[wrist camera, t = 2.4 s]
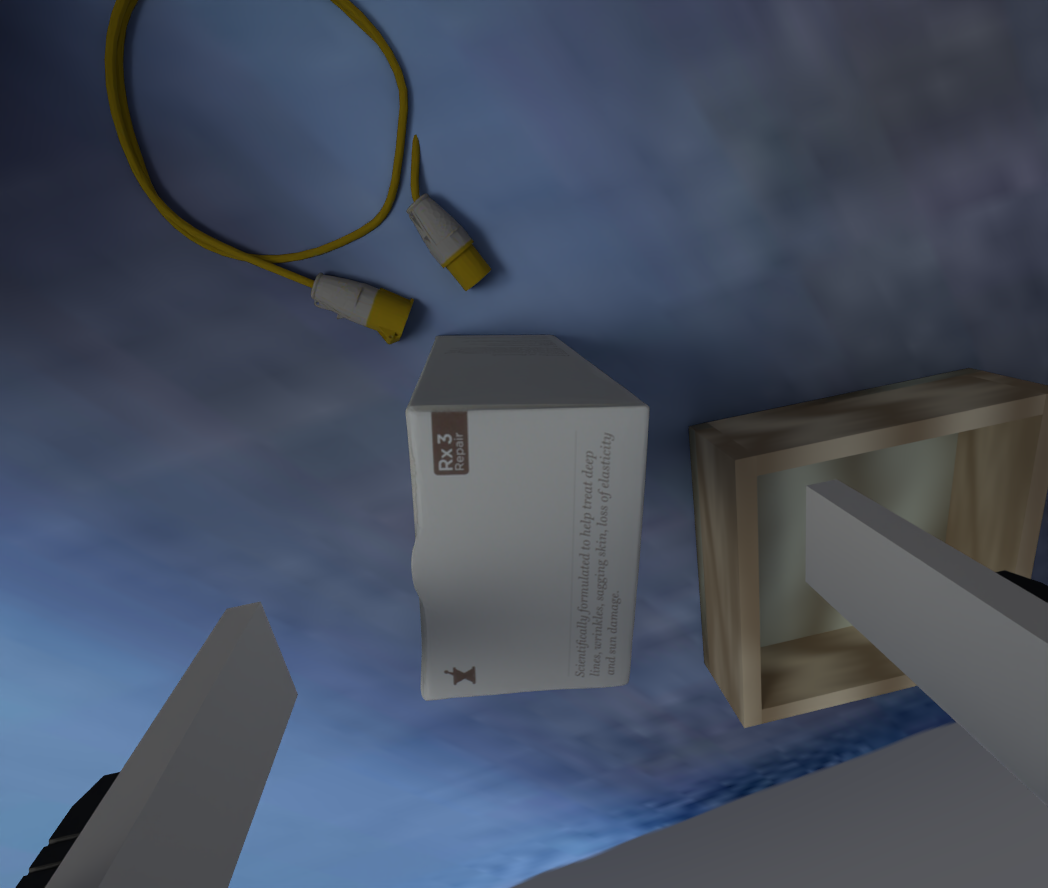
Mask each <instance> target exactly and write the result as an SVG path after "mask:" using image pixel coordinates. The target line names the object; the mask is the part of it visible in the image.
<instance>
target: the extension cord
mask: <svg viewBox="0 0 1048 888" xmlns="http://www.w3.org/2000/svg"><path fill="white" fill-rule="evenodd" d="M331 1H332V2H333V3H334V4H335V5H337V6H338V7H339V8H340V9H341V10H342V11H343V12H344V13H345V14H346V15H347V16H348V17H350V18H351V19H352V20H353V21H354V22H355V23H356V24H357V25H358V26H359V27H360V28H361V29H362V30H363V31H364V32H365V33H366V34H367V35H368V36H369V37H370V38H372V39H373V40H374V41H375V42H376V43H377V45H378V46H379V48H380V49H381V50H382V52H383V53H384V55H385V56H386V58H387V60H388V62H389V64H390V66H391V68H392V70H393V72H394V75H395V78H396V82H397V85H398V89H399V102H400V109H399V120H398V130H397V141H396V150H395V157H394V165H393V172H392V179H391V184H390V187H389V191H388V195H387V198H386V201H385V203H384V205H383V207H382V209H381V210H380V212H379V213H378V214H377V215H376V216H375V218H374V219H373V220H371V221H370V222H368V223H367V224H365V225H364V226H362V227H361V228H359V229H358V230H356V231H354V232H352V233H350V234H348V235H346V236H344V237H342V238H340V239H337V240H335V241H332V242H330V243H328V244H325V245H323V246H320V247H317V248H314V249H310V250H306V251H302V252H298V253H291V254H283V255H255V254H248V253H245V252H243V251H240V250H238V249H236V248H234V247H232V246H230V245H227V244H225V243H223V242H221V241H219V240H217V239H215V238H213V237H211V236H209V235H207V234H205V233H203V232H201V231H200V230H198V229H196V228H195V227H193V226H192V225H190V224H189V223H187V222H186V221H184V220H183V219H181V218H180V217H179V216H178V215H177V214H176V213H175V212H173V211H172V210H171V209H170V208H169V207H168V206H167V205H166V204H165V203H164V201H163V200H162V199H161V198H160V197H159V196H158V195H157V193H156V191H155V189H154V187H153V185H152V183H151V180H150V178H149V175H148V172H147V169H146V166H145V163H144V160H143V157H142V155H141V151H140V148H139V145H138V142H137V139H136V136H135V133H134V130H133V125H132V121H131V117H130V113H129V109H128V103H127V97H126V91H125V84H124V69H123V56H124V42H125V35H126V29H127V25H128V22H129V19H130V16H131V13H132V11H133V9H134V7H135V6H136V4H137V2H138V0H116V2H115V5H114V7H113V10H112V13H111V17H110V22H109V26H108V30H107V35H106V48H105V77H106V88H107V94H108V100H109V105H110V111H111V115H112V118H113V121H114V125H115V128H116V131H117V135H118V138H119V141H120V144H121V146H122V148H123V151H124V153H125V155H126V158H127V160H128V163H129V165H130V167H131V170H132V172H133V173H134V175H135V177H136V179H137V181H138V182H139V184H140V186H141V187H142V189H143V190H144V192H145V193H146V194H147V196H148V197H149V199H150V200H151V201H152V202H153V203H154V205H155V206H156V208H157V209H158V210H159V212H160V213H161V214H162V215H163V217H164V218H165V219H166V220H167V221H168V222H169V223H170V224H171V225H172V226H173V227H174V228H175V229H177V230H178V231H179V232H181V233H182V234H183V235H184V236H186V237H187V238H188V239H190V240H191V241H193V242H195V243H197V244H198V245H200V246H202V247H204V248H205V249H208V250H210V251H212V252H215V253H217V254H220V255H222V256H225V257H229V258H233V259H237V260H241V261H246V262H249V263H251V264H254V265H256V266H258V267H261V268H263V269H266V270H268V271H271V272H273V273H276V274H278V275H281V276H283V277H286V278H288V279H291V280H293V281H296V282H298V283H301V284H303V285H306V286H308V287H311V288H312V291H311V297H312V299H314V304H315V306H317V307H319V308H323V309H327V310H331V311H334V312H335V313H337V314H338V315H337V319H340V318H346V319H348V320H350V321H353V322H355V323H358V324H360V325H363V326H366V327H368V328H371V329H374V330H376V331H378V333H379V334H380V335H381V336H382V337H383V338H384V340H385V341H386V342H387V343H388V344H392V343H395V342H397V341H399V340H400V338H401V335H402V332H403V329H404V327H405V324H406V321H407V318H408V315H409V313H410V310H411V307H412V304H413V301H414V299H412V298H411V300H408V299H406V298H404V297H402V296H399V295H397V294H395V293H392V292H390V291H387V290H385V289H383V288H380V290H379V289H377V288H375V287H372V286H370V285H368V284H365V283H360V282H357V281H353V280H349V279H345V278H339V277H335V276H330V275H323V274H322V273H319V274H318V275H317V277H316V279H315V281H314V280H311V279H309V278H306V277H304V276H302V275H299V274H297V273H294V272H292V271H289V270H287V269H284V268H282V267H279V266H277V265H274V264H272V263H285V262H291V261H298V260H303V259H307V258H311V257H314V256H318V255H322V254H324V253H327V252H330V251H332V250H335V249H337V248H339V247H342V246H344V245H346V244H348V243H350V242H352V241H354V240H357V239H359V238H361V237H363V236H364V235H366V234H367V233H369V232H371V231H372V230H374V229H375V228H376V227H377V226H378V225H380V224H381V223H382V221H383V220H384V219H385V218H386V217H387V215H388V213H389V212H390V210H391V208H392V205H393V203H394V200H395V197H396V193H397V189H398V186H399V181H400V174H401V167H402V160H403V153H404V144H405V134H406V124H407V115H408V94H407V87H406V84H405V80H404V76H403V73H402V70H401V68H400V66H399V64H398V62H397V60H396V58H395V56H394V54H393V51H392V50H391V48H390V47H389V46H388V44H387V43H386V41H385V40H384V38H383V37H382V35H381V34H380V32H379V31H378V30H377V29H376V28H375V26H374V25H373V24H372V23H371V22H370V21H369V20H368V18H367V17H366V16H365V15H364V14H363V13H362V12H361V11H360V10H359V9H358V8H357V7H356V6H355V5H354V4H353V3H351V2H350V1H349V0H331ZM419 161H420V146H419V140H418V138H417V135H416V134H415V135H414V138H413V143H412V160H411V193H412V198H413V201H414V203H413V204H412V205H411V206H410V207H409V208H408V209H407V211H406V212H407V213H408V214H409V217H410V219H411V220H412V221H413V223H414V225H415V226H416V228H417V230H418V232H419V234H420V235H421V237H422V239H423V241H424V242H425V244H426V245H427V247H428V248H429V250H430V253H431V254H432V255H433V256H434V258H435V259H436V260H437V261H438V262H439V264H440V265H441V266H442V267H443V268H444V267H446V268H447V269H448V270H449V271H450V273H451V274H452V275H453V276H454V277H455V279H456V280H457V281H458V282H459V284H460V285H461V286H462V287H463V289H464V290H465V291H467V290H469V289H470V288H471V287H473V286H474V285H475V284H476V283H478V282H479V281H480V280H481V279H482V278H483V277H484V276H486V275H487V274H488V273H489V272H490V271H491V268H490V267H489V265H488V264H487V263H486V262H485V260H484V259H483V258H482V256H481V255H480V254H479V253H478V251H477V250H476V249H475V247H474V246H473V245H472V243H473V242H474V241H473V240H472V239H471V238H470V236H469V235H468V234H467V232H466V231H465V230H464V228H463V227H462V226H461V225H459V224H458V223H457V221H456V220H454V219H453V217H452V216H451V215H450V214H448V213H447V212H446V211H445V210H444V209H443V208H442V207H441V206H439V205H438V204H437V203H436V202H435V201H434V200H432V199H431V198H430V197H429V195H428V194H424V195H422V196H421V197H420V195H419ZM316 302H319V305H316Z"/></svg>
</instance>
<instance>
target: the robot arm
mask: <svg viewBox="0 0 1048 888" xmlns="http://www.w3.org/2000/svg"><path fill="white" fill-rule="evenodd" d="M805 582H807V583H808V584H809V585H810V586H811V587H812V588H813V589H814V590H815V591H816V592H817V593H818V594H819V595H821V596H822V597H823V598H824V599H825V600H826V601H827V602H828V603H829V604H830V605H831V606H832V607H833V608H835V609H836V610H837V611H838V612H839V613H840V614H841V615H842V616H843V617H844V618H845V619H846V620H847V621H848V622H850V623H851V624H852V625H853V626H854V627H855V628H856V629H857V630H858V631H859V632H860V633H861V634H862V635H864V636H865V637H866V638H867V639H868V640H869V641H870V642H871V643H872V644H873V645H874V646H875V647H876V648H878V649H879V650H880V651H881V652H882V653H883V654H884V655H885V656H886V657H887V658H888V659H889V660H890V661H891V662H893V663H894V664H895V665H896V666H897V667H898V668H899V669H900V670H901V671H902V672H903V673H904V674H905V675H907V676H908V677H909V678H910V679H911V680H912V681H913V682H914V683H915V684H916V685H917V686H918V687H919V688H920V689H922V690H923V691H924V692H925V693H926V694H927V695H928V696H929V697H930V698H931V699H932V700H933V701H934V702H936V703H937V704H938V705H939V706H940V707H941V708H942V709H943V710H944V711H945V712H946V713H947V714H948V715H950V716H951V717H952V718H953V719H954V720H955V721H956V722H957V723H958V724H959V725H960V726H961V727H963V729H965V730H966V731H967V732H968V733H969V734H970V735H971V736H972V737H973V738H974V739H975V740H976V741H978V742H979V743H980V744H981V745H982V746H983V747H984V748H985V749H986V750H987V751H988V752H989V753H990V754H991V755H992V756H994V757H995V758H996V759H997V760H998V761H999V762H1000V763H1001V764H1002V765H1003V766H1004V767H1005V768H1006V769H1008V770H1009V771H1010V772H1011V773H1012V774H1013V775H1014V776H1015V777H1016V778H1017V779H1018V780H1019V781H1021V782H1022V783H1023V784H1024V785H1025V786H1026V787H1027V788H1028V789H1029V790H1030V791H1031V792H1032V793H1033V794H1035V795H1036V796H1037V797H1038V798H1039V799H1040V800H1041V801H1042V802H1043V803H1044V804H1045V805H1046V806H1047V807H1048V586H1047V585H1045V584H1043V583H1041V582H1038V581H1035V580H1032V579H1029V578H1026V577H1023V576H1020V575H1018V574H1015V573H1012V572H1009V571H1006V570H1003V571H999V572H994V571H992V570H990V569H989V568H987V567H985V566H983V565H982V564H980V563H978V562H977V561H975V560H973V559H972V558H970V557H968V556H966V555H965V554H963V553H961V552H960V551H958V550H956V549H954V548H953V547H951V546H949V545H948V544H946V543H944V542H943V541H941V540H939V539H937V538H936V537H934V536H932V535H931V534H929V533H927V532H925V531H924V530H922V529H920V528H919V527H917V526H915V525H914V524H912V523H910V522H908V521H907V520H905V519H903V518H902V517H900V516H898V515H896V514H895V513H893V512H891V511H890V510H888V509H886V508H884V507H883V506H881V505H879V504H878V503H876V502H874V501H873V500H871V499H869V498H867V497H866V496H864V495H862V494H861V493H859V492H857V491H855V490H854V489H852V488H850V487H849V486H847V485H845V484H844V483H842V482H840V481H838V480H837V479H835V480H830V481H826V482H821V483H816V484H812V485H807V486H806V577H805ZM297 695H298V694H297V691H296V689H295V686H294V684H293V681H292V679H291V676H290V674H289V671H288V669H287V666H286V664H285V661H284V659H283V656H282V654H281V651H280V649H279V647H278V644H277V642H276V639H275V637H274V634H273V632H272V629H271V627H270V624H269V622H268V619H267V617H266V614H265V612H264V609H263V607H262V604H261V602H257V603H252V604H247V605H243V606H238V607H233V608H228V609H226V611H225V612H224V614H223V615H222V617H221V618H220V620H219V621H218V623H217V625H216V626H215V628H214V629H213V631H212V632H211V634H210V635H209V637H208V638H207V640H206V641H205V643H204V644H203V646H202V648H201V649H200V651H199V652H198V654H197V655H196V657H195V658H194V660H193V661H192V663H191V664H190V666H189V667H188V669H187V671H186V672H185V674H184V675H183V677H182V678H181V680H180V681H179V683H178V684H177V686H176V687H175V689H174V690H173V692H172V694H171V695H170V697H169V698H168V700H167V701H166V703H165V704H164V706H163V707H162V709H161V710H160V712H159V713H158V715H157V717H156V718H155V720H154V721H153V723H152V724H151V726H150V727H149V729H148V730H147V732H146V733H145V735H144V736H143V738H142V740H141V741H140V743H139V744H138V746H137V747H136V749H135V750H134V752H133V753H132V755H131V756H130V758H129V759H128V761H127V763H126V764H125V766H124V767H123V769H122V770H121V772H118V773H114V774H109V775H105V776H103V777H102V778H101V779H100V780H99V781H98V782H97V783H96V784H95V785H94V786H93V787H92V788H91V789H90V790H89V791H88V792H87V793H86V794H85V795H84V796H83V797H82V798H81V799H79V800H78V801H77V802H76V803H75V804H74V805H73V806H72V808H71V809H70V810H69V812H68V813H67V815H66V816H65V818H64V819H63V820H62V822H61V823H60V825H59V826H58V828H57V829H56V830H55V832H54V833H53V835H52V836H51V838H50V839H49V845H48V846H46V847H44V848H43V849H42V851H41V852H40V853H39V855H38V856H37V858H36V859H35V861H34V862H33V863H32V865H31V866H30V868H29V873H28V875H27V876H23V878H22V879H21V881H20V882H19V883H18V885H17V886H16V888H228V886H229V883H230V880H231V877H232V875H233V872H234V869H235V866H236V864H237V861H238V858H239V855H240V853H241V850H242V847H243V844H244V842H245V839H246V836H247V833H248V830H249V828H250V825H251V822H252V819H253V817H254V814H255V811H256V808H257V806H258V803H259V800H260V797H261V795H262V792H263V789H264V786H265V784H266V781H267V778H268V775H269V773H270V770H271V767H272V764H273V761H274V759H275V756H276V753H277V750H278V748H279V745H280V742H281V739H282V737H283V734H284V731H285V728H286V726H287V723H288V720H289V717H290V715H291V712H292V709H293V706H294V704H295V701H296V698H297Z"/></svg>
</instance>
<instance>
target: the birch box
mask: <svg viewBox="0 0 1048 888" xmlns="http://www.w3.org/2000/svg"><path fill="white" fill-rule="evenodd" d="M689 440H690V455H691V470H692V485H693V500H694V515H695V530H696V545H697V560H698V575H699V590H700V605H701V620H702V635H703V650H704V663H705V665H706V667H707V668H708V670H709V671H710V673H711V675H712V676H713V678H714V680H715V681H716V683H717V684H718V686H719V688H720V689H721V691H722V692H723V694H724V696H725V697H726V699H727V701H728V702H729V704H730V705H731V707H732V709H733V710H734V712H735V713H736V715H737V717H738V718H739V720H740V722H741V723H742V725H743V726H744V728H746V727H750V726H755V725H759V724H763V723H767V722H771V721H775V720H779V719H783V718H787V717H791V716H795V715H799V714H803V713H808V712H812V711H816V710H820V709H824V708H828V707H832V706H836V705H840V704H844V703H848V702H852V701H856V700H861V699H865V698H869V697H873V696H877V695H881V694H885V693H889V692H893V691H897V690H901V689H905V688H909V687H914V686H917V685H916V684H915V683H914V682H913V681H912V680H911V679H910V678H909V677H908V676H907V675H905V674H904V673H903V672H902V671H901V670H900V669H899V668H898V667H897V666H896V665H895V664H894V663H893V662H891V661H890V660H889V659H888V658H887V657H886V656H885V655H884V654H883V653H882V652H881V651H880V650H879V649H878V648H876V647H875V646H874V645H873V644H872V643H871V642H870V641H869V640H868V639H867V638H866V637H865V636H864V635H862V634H861V633H860V632H859V631H858V630H857V629H856V628H855V627H854V626H853V625H852V624H851V623H850V622H848V621H847V620H846V619H845V618H844V617H843V616H842V615H841V614H840V613H839V612H838V611H837V610H836V609H835V608H833V607H832V606H831V605H830V604H829V603H828V602H827V601H826V600H825V599H824V598H823V597H822V596H821V595H819V594H818V593H817V592H816V591H815V590H814V589H813V588H812V587H811V586H810V585H809V584H808V583H807V582H805V577H806V486H807V485H812V484H816V483H821V482H826V481H830V480H835V479H837V480H838V481H840V482H842V483H844V484H845V485H847V486H849V487H850V488H852V489H854V490H855V491H857V492H859V493H861V494H862V495H864V496H866V497H867V498H869V499H871V500H873V501H874V502H876V503H878V504H879V505H881V506H883V507H884V508H886V509H888V510H890V511H891V512H893V513H895V514H896V515H898V516H900V517H902V518H903V519H905V520H907V521H908V522H910V523H912V524H914V525H915V526H917V527H919V528H920V529H922V530H924V531H925V532H927V533H929V534H931V535H932V536H934V537H936V538H937V539H939V540H941V541H943V542H944V543H946V544H948V545H949V546H951V547H953V548H954V549H956V550H958V551H960V552H961V553H963V554H965V555H966V556H968V557H970V558H972V559H973V560H975V561H977V562H978V563H980V564H982V565H983V566H985V567H987V568H989V569H990V570H992V571H994V572H999V571H1003V570H1006V571H1009V572H1012V573H1015V574H1018V575H1020V576H1023V577H1026V578H1029V579H1031V574H1032V569H1033V564H1034V558H1035V553H1036V548H1037V543H1038V537H1039V532H1040V527H1041V521H1042V516H1043V511H1044V505H1045V500H1046V495H1047V489H1048V385H1043V384H1039V383H1034V382H1030V381H1025V380H1021V379H1016V378H1012V377H1007V376H1003V375H998V374H994V373H990V372H985V371H981V370H976V369H972V368H967V369H962V370H957V371H952V372H948V373H943V374H938V375H933V376H928V377H924V378H919V379H914V380H909V381H904V382H899V383H895V384H890V385H885V386H880V387H875V388H871V389H866V390H861V391H856V392H851V393H846V394H842V395H837V396H832V397H827V398H822V399H818V400H813V401H808V402H803V403H798V404H794V405H789V406H784V407H779V408H774V409H769V410H765V411H760V412H755V413H750V414H745V415H741V416H736V417H731V418H726V419H721V420H716V421H712V422H707V423H702V424H697V425H692V426H689Z"/></svg>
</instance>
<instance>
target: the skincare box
mask: <svg viewBox="0 0 1048 888" xmlns="http://www.w3.org/2000/svg"><path fill="white" fill-rule="evenodd" d="M406 421H407V431H408V443H409V455H410V467H411V480H412V492H413V507H414V522H415V537H416V540H415V544H414V547H413V551H412V560H411V561H412V578H413V582H414V587H415V590H416V592H417V594H418V596H419V600H420V614H421V635H422V664H421V693H422V696H423V698H424V700H426V701H429V700H439V699H447V698H455V697H470V696H480V695H494V694H507V693H516V692H527V691H540V690H555V689H576V688H601V687H611V686H621V685H625V684H627V683H628V681H629V674H630V664H631V650H632V637H633V628H634V618H635V605H636V592H637V582H638V571H639V558H640V544H641V530H642V516H643V502H644V489H645V475H646V459H647V442H648V425H649V406H648V405H647V404H645V403H644V402H642V401H641V400H639V399H638V398H637V397H636V396H635V395H633V394H632V393H631V392H629V391H628V390H627V389H625V388H624V387H623V386H621V385H620V384H618V383H617V382H615V381H614V380H613V379H611V378H610V377H609V376H608V375H606V374H605V373H604V372H602V371H601V370H600V369H598V368H597V367H595V366H594V365H593V364H591V363H590V362H589V361H587V360H586V359H585V358H583V357H582V356H581V355H579V354H578V353H577V352H575V351H574V350H573V349H571V348H570V347H569V346H567V345H566V344H565V343H563V342H562V341H561V340H559V339H558V338H557V337H555V336H554V335H468V336H437V337H436V338H435V342H434V344H433V347H432V349H431V352H430V354H429V357H428V359H427V362H426V364H425V366H424V369H423V371H422V373H421V376H420V378H419V380H418V383H417V385H416V387H415V390H414V392H413V395H412V397H411V400H410V402H409V404H408V407H407V409H406Z"/></svg>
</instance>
